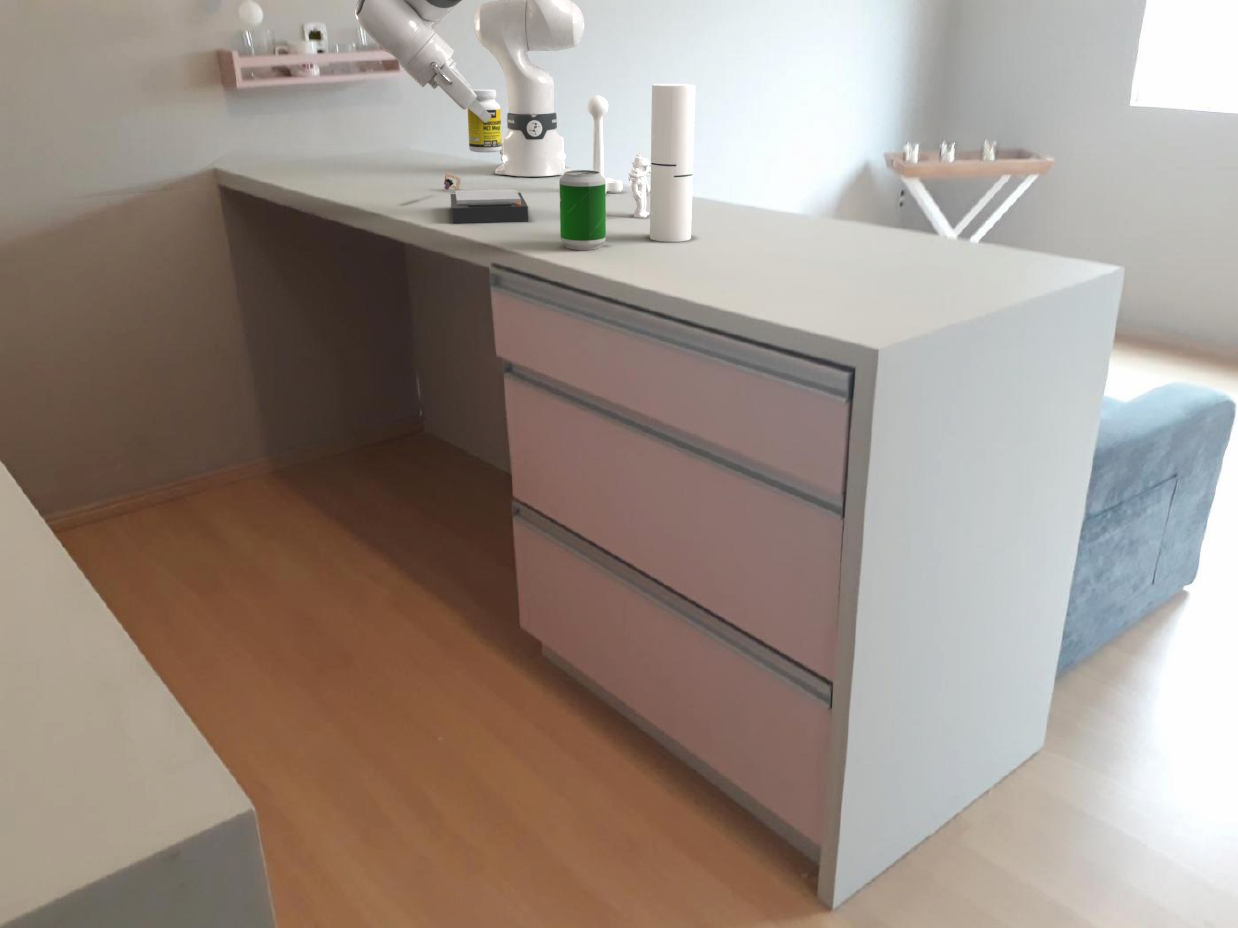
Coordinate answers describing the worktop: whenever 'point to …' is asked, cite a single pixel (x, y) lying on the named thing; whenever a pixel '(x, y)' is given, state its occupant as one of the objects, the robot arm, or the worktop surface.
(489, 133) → the pill bottle
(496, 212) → the scale
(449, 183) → the framed picture
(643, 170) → the hat wearing toy figure
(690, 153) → the cylindrical container
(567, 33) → the robot arm
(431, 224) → the worktop surface
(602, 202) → the soda can
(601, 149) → the joystick
